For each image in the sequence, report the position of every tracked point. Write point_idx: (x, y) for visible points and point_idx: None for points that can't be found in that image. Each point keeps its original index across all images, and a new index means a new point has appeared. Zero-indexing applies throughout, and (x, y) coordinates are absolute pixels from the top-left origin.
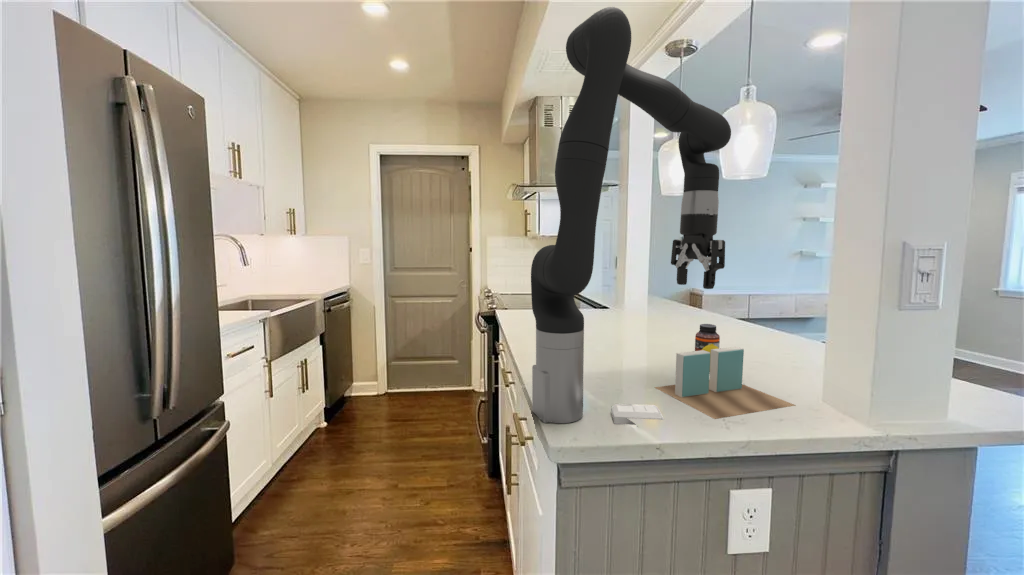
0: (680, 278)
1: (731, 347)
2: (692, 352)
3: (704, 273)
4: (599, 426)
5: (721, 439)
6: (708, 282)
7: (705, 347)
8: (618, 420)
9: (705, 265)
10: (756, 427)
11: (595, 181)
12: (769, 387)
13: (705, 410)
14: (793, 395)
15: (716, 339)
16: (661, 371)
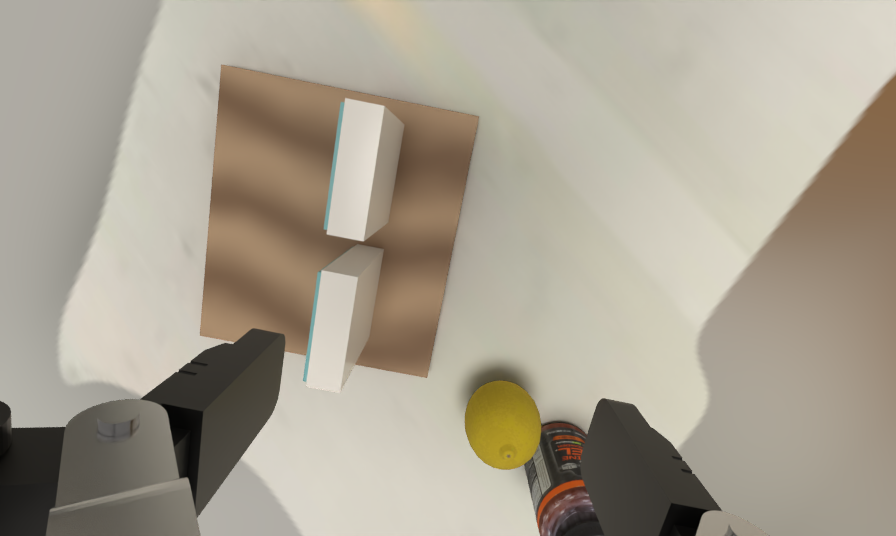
0: (616, 438)
1: (339, 366)
2: (360, 173)
3: (205, 393)
4: None
5: (163, 7)
6: (211, 358)
7: (518, 428)
8: None
9: (120, 452)
10: (179, 152)
11: None
12: (345, 433)
13: (273, 94)
14: (279, 427)
15: (539, 519)
16: (605, 298)
